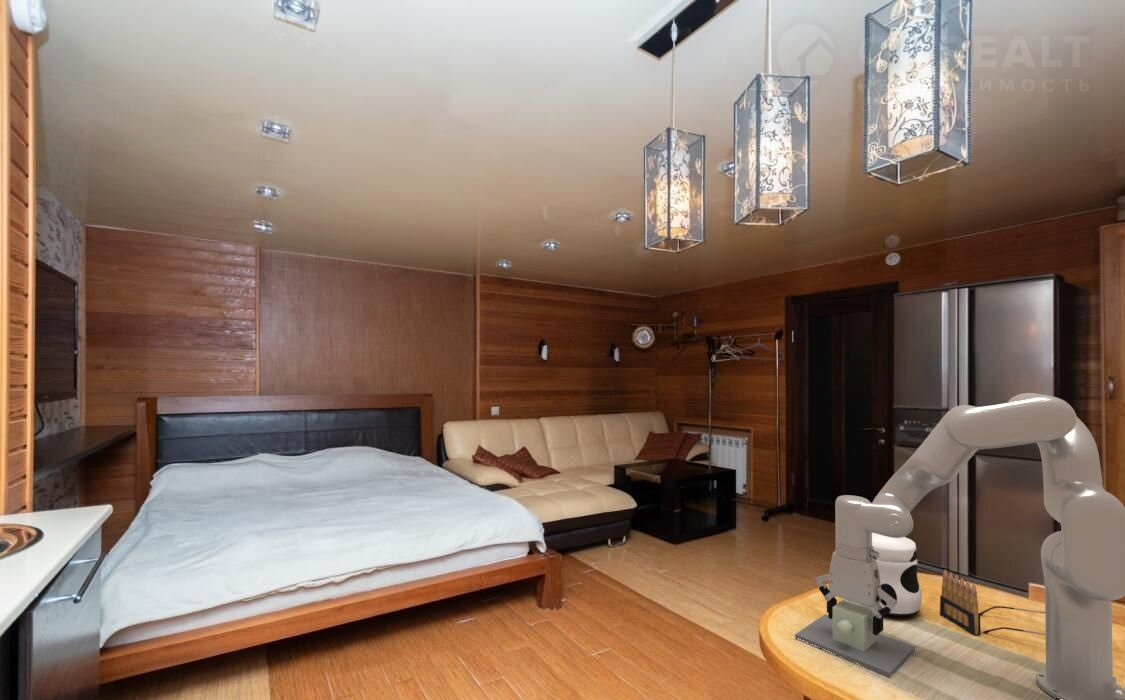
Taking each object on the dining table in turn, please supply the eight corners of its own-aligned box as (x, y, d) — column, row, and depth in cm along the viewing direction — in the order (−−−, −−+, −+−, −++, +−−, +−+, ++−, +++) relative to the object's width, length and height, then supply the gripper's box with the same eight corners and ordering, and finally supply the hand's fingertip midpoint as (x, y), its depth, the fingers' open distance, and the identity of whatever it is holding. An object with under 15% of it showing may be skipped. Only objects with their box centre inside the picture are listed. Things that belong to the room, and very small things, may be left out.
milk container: (832, 597, 147) (831, 532, 147) (876, 588, 153) (876, 526, 154) (890, 626, 131) (889, 553, 131) (937, 615, 137) (936, 545, 137)
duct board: (915, 651, 120) (915, 624, 120) (889, 677, 109) (889, 648, 110) (825, 617, 135) (825, 594, 135) (795, 638, 125) (795, 612, 125)
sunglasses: (1074, 657, 118) (1072, 635, 119) (983, 641, 127) (981, 619, 127) (1059, 631, 130) (1057, 611, 130) (976, 618, 139) (975, 598, 139)
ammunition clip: (981, 635, 127) (980, 585, 127) (973, 635, 127) (973, 585, 127) (946, 614, 138) (945, 568, 138) (939, 614, 138) (939, 568, 138)
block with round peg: (844, 629, 127) (844, 598, 127) (875, 641, 122) (875, 609, 122) (826, 643, 121) (826, 611, 121) (858, 656, 115) (858, 622, 116)
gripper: (901, 557, 119) (902, 634, 118) (822, 537, 132) (823, 606, 131) (889, 565, 114) (890, 645, 113) (809, 544, 127) (809, 616, 127)
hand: (854, 624), depth 122 cm, fingers open, 9 cm apart
